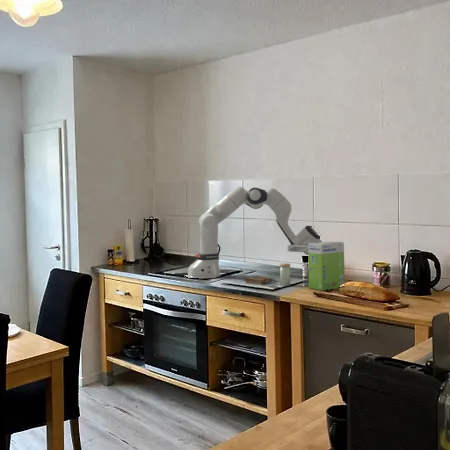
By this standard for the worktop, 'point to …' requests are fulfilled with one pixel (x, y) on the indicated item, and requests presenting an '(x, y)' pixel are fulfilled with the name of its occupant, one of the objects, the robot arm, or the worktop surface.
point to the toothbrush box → (326, 265)
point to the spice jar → (284, 274)
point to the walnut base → (258, 280)
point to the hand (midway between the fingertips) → (297, 250)
